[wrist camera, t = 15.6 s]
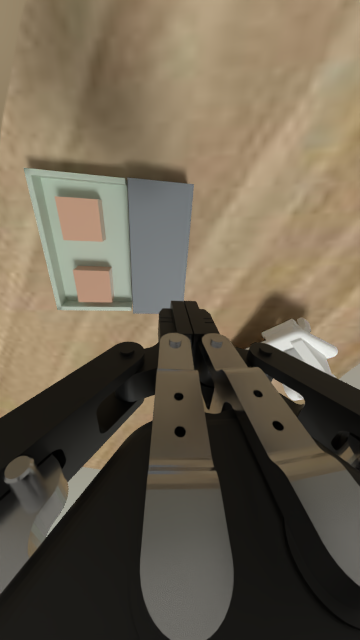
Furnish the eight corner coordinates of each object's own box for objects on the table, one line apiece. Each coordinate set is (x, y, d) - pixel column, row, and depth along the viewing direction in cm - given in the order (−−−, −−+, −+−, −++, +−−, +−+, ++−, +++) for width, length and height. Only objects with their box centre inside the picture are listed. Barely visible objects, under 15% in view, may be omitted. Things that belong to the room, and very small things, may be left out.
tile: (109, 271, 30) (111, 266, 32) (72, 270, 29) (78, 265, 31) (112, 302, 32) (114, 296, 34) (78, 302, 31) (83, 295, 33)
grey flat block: (130, 181, 27) (127, 177, 24) (188, 187, 28) (193, 184, 25) (134, 303, 36) (133, 313, 32) (179, 303, 37) (182, 313, 34)
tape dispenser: (249, 359, 53) (252, 411, 45) (217, 340, 49) (214, 394, 41) (333, 327, 39) (359, 395, 31) (299, 298, 35) (320, 367, 27)
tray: (36, 171, 26) (23, 167, 23) (127, 181, 27) (124, 178, 25) (64, 302, 34) (57, 309, 32) (132, 303, 36) (131, 310, 33)
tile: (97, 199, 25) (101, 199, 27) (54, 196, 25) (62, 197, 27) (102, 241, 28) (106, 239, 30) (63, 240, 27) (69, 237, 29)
